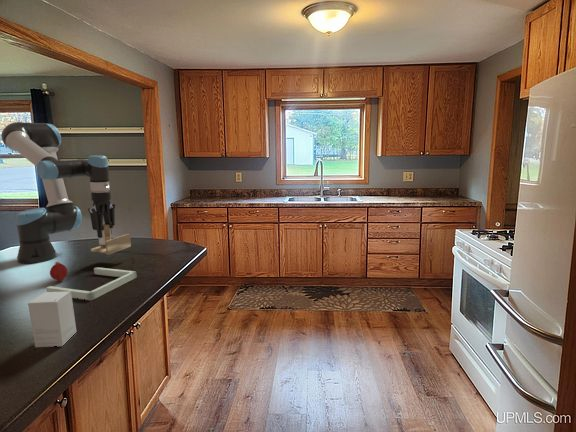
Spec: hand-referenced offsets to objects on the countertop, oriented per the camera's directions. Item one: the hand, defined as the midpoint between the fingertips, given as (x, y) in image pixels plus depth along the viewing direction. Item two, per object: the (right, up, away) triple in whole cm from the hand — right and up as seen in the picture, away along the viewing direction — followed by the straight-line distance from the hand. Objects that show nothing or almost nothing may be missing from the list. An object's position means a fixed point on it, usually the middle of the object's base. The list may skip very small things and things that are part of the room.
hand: (105, 243), depth 163 cm
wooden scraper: (+2, -3, 0) cm, 3 cm away
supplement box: (+19, -22, -64) cm, 71 cm away
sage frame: (+9, -14, -26) cm, 31 cm away
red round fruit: (-7, -13, -21) cm, 26 cm away
